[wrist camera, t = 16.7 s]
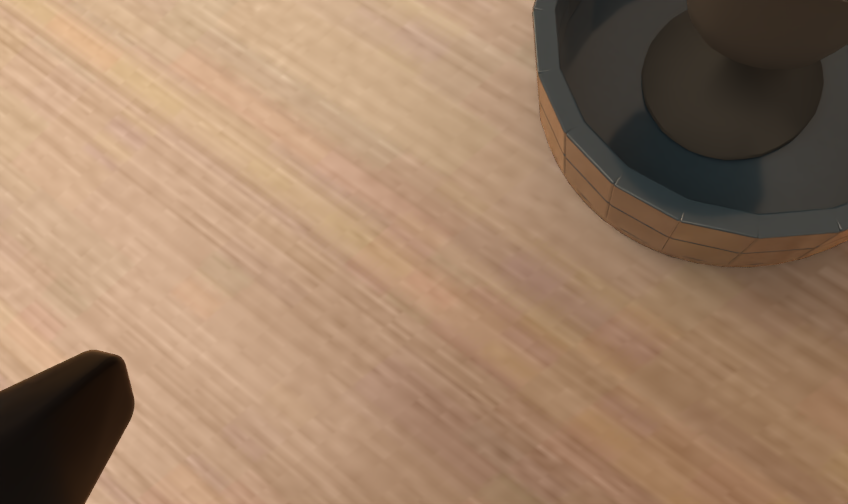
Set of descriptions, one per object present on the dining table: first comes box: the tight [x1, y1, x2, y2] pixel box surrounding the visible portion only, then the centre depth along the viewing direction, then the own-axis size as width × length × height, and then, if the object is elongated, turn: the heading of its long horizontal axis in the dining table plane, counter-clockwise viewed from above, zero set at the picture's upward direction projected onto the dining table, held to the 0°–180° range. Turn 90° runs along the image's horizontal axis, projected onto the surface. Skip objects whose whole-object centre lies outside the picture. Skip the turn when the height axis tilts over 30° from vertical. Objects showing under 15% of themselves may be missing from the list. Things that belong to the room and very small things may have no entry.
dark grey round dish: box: [532, 0, 848, 267], centre depth 20 cm, size 11×11×4 cm
